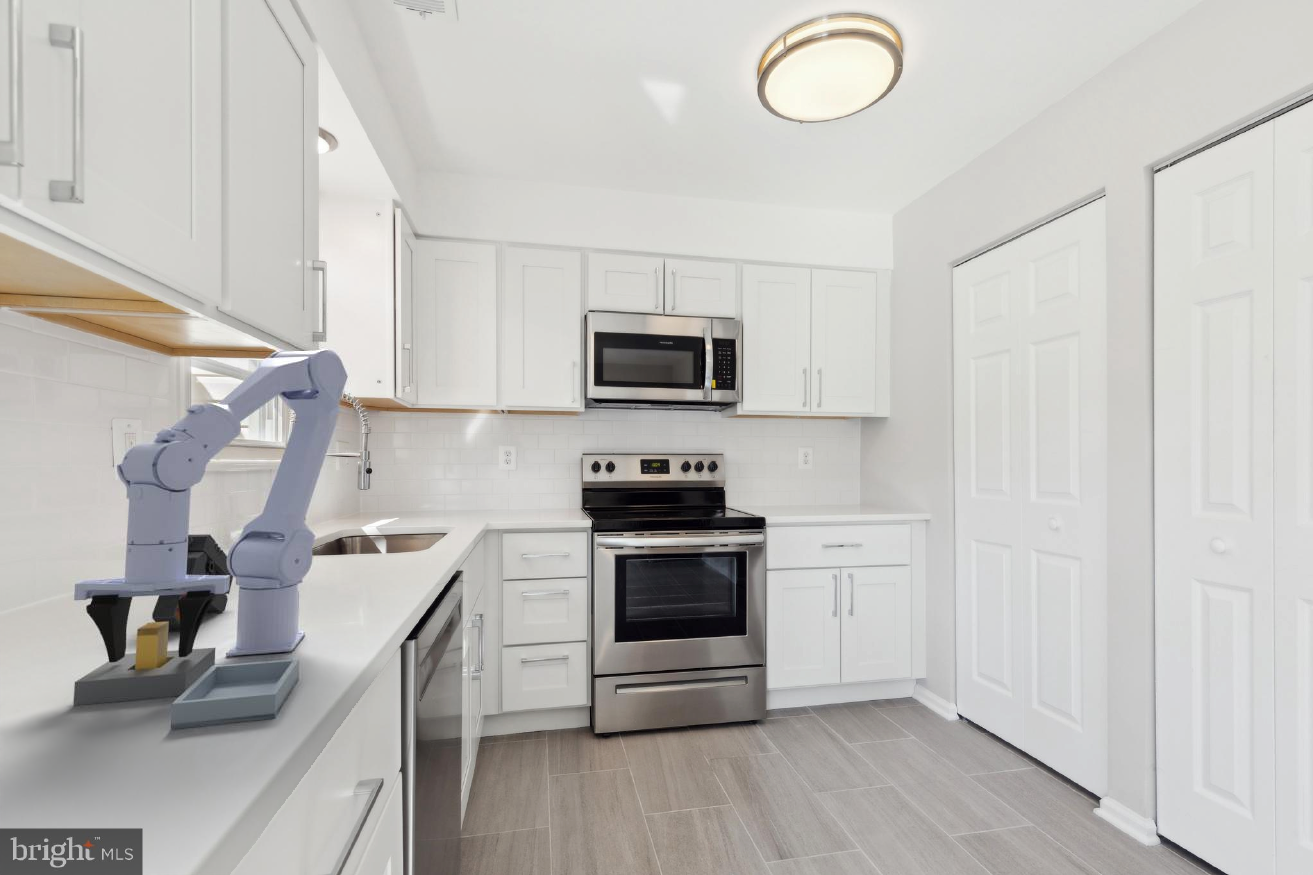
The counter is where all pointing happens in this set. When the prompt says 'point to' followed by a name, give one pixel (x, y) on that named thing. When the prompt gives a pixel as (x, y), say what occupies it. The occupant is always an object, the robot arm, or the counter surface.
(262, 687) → the parts tray
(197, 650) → the socket block
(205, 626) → the counter surface
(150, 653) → the block
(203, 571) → the tool
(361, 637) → the counter surface
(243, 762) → the counter surface
